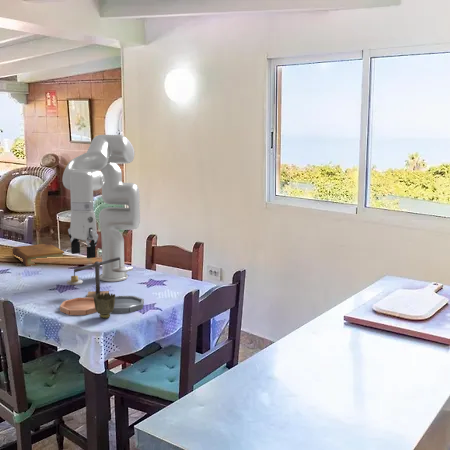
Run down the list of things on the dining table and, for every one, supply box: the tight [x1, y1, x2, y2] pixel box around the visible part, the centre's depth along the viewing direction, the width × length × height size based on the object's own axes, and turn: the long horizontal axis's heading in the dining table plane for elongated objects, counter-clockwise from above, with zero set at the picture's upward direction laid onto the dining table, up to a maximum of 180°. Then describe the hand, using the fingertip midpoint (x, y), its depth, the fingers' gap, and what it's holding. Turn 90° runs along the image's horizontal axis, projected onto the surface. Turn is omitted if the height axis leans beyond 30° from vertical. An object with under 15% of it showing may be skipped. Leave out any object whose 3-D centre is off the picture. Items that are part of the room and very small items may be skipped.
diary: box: [12, 242, 65, 267], centre depth 269 cm, size 23×19×6 cm
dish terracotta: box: [59, 297, 98, 316], centre depth 196 cm, size 15×15×2 cm
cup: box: [94, 292, 116, 320], centre depth 186 cm, size 8×7×8 cm
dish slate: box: [110, 295, 145, 314], centre depth 199 cm, size 15×15×2 cm
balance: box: [66, 257, 129, 298], centre depth 208 cm, size 23×8×16 cm, turn 99°
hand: (83, 255), depth 186 cm, fingers open, 9 cm apart
